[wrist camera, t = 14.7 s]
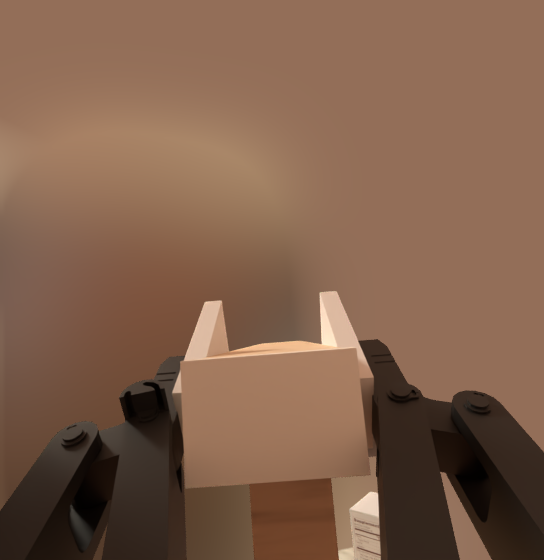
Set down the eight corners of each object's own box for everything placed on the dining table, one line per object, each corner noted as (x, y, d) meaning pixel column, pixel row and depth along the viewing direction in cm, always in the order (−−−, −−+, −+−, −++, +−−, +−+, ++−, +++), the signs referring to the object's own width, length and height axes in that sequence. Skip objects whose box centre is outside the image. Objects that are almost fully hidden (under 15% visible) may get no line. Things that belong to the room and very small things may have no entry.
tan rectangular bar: (370, 474, 9) (356, 347, 10) (185, 488, 9) (180, 361, 10) (302, 367, 43) (300, 340, 44) (262, 371, 43) (260, 343, 44)
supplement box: (379, 577, 59) (370, 490, 61) (428, 594, 54) (416, 499, 56) (357, 605, 53) (347, 508, 55) (409, 627, 49) (396, 520, 51)
